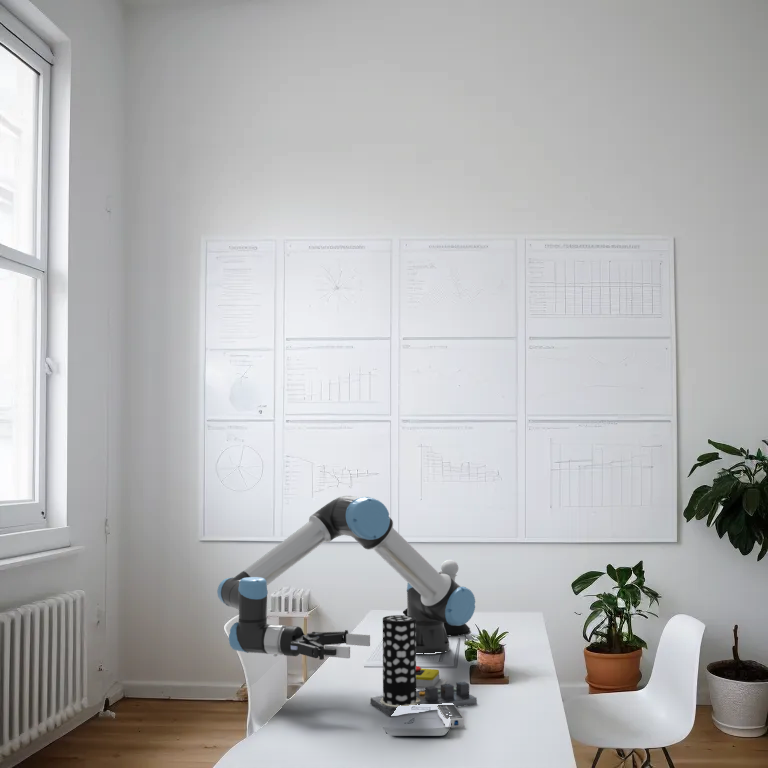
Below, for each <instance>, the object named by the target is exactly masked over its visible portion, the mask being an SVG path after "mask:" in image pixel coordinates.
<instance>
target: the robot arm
mask: <svg viewBox="0 0 768 768" xmlns="http://www.w3.org/2000/svg"><path fill="white" fill-rule="evenodd" d="M341 536H346V537H347V536H349V537H352V538H353V539H354V540H355V541H356V542H357V543H359V544H360V546H362V547H363V548H364V549H365V550H367V551H368V550H373V551H374V552H375V553H376V554H378V556H379V557H380V558H381V559H383V561H385V562H386V563H387V565H389V566H390V567H391V568H392V569H393V570H394V572H396V573H397V574H398V575H400V577H401V578H403V579H404V580H405V581H406V582H407V585H406V586H407V587H406V598H407V599H406V600H407V602H406V603H407V606H406V607H407V608H406V609H407V612H408V616H412V617H415V618H416V653H423V654H424V653H435V652H445V651H448V650H449V649H450V641H449V638H448V637H449V636H447V634H446V631H445V628H444V623H448V624H450V625H456V626H460V625H464V624H466V625H467V623H468V622H469V621H470V620H471V619H472V617H473V615H474V613H475V610H476V597H475V594H474V593H473V592H472V590H470V589H469V588H467V587H466V586H461V585H459V584H458V583H457V582H456V580H455V581H454V580H453V579H452V578H451V577H450V576H449V575H447V574H439V572H438V570H437V569H436V568H435V567H434V566H433V565H432V564H431V563H429V562H428V561H427V560H426V559H425V558H424V556H422V555H421V554H420V553H419V552H418V550H416V549H415V548H414V547H413V546H412V545H411V544H410V543H409V542H408V541H407V540H406V539H405V538H404V537H403V536H402V535H401V534H400V533H399V532H398V531H397V530H396V529H395V528H394V520H393V519H392V517H390V513H389V510H388V509H387V506H385V504H384V503H383V502H382V501H380V500H379V499H377V498H374V497H369V496H352V495H343V496H339V497H336V498H334V499H333V500H331V501H330V502H328V503H326V504H325V505H324V506H322V507H321V508H320V509H318V510H317V511H316V512H314V513H313V514H311V515H310V516H309V518H308V522H307V523H305V524H304V525H302V526H301V527H300V528H298V529H297V530H296V531H295V532H293V533H292V534H290V535H289V536H288V537H286V538H285V539H284V540H283V541H281V542H280V543H278V544H277V545H276V546H275V547H273V548H272V549H271V550H269V551H267V552H266V553H265V554H264V555H263V556H261V557H260V558H258V559H257V560H256V561H254V562H253V563H252V564H251V565H249V566H248V567H246V568H245V569H244V570H243V571H241V572H240V573H238V574H237V575H236V576H234V577H228V578H224V579H223V580H222V581H221V582H220V583H219V584H218V586H217V587H218V588H217V597H218V599H219V601H220V602H221V603H223V604H225V606H227V607H231V608H234V609H236V610H237V611H238V622H237V621H236V622H235V623H233V624H232V625H231V626H230V629H229V634H228V643H229V646H230V647H231V649H232V650H234V651H236V652H237V651H238V652H244V653H247V654H248V653H251V654H252V653H254V654H267V655H270V654H271V655H273V657H275V658H276V657H277V656H278V655H280V656H288V657H298V656H299V655H303V656H306V657H309V658H313V659H318V658H319V660H321V661H323V660H325V657H329V658H338V659H339V658H340V659H350V658H351V646H363V647H370V646H371V635H370V634H357V633H349V630H348V629H346V630H344V631H322V632H320V631H312V632H308V633H306V634H305V633H304V631H303V629H302V628H301V626H295V625H284V624H283V625H282V624H269V623H268V622H267V621H268V617H267V616H268V611H267V610H268V593H269V592H268V591H269V590H268V585H270V584H271V583H272V582H274V581H275V580H276V579H277V578H279V577H280V576H281V575H283V574H284V573H286V572H287V571H288V570H289V569H290V568H292V567H294V565H296V564H297V563H299V562H300V561H301V560H302V559H304V558H305V557H307V555H309V554H310V553H311V552H313V551H314V550H316V549H317V548H318V547H320V546H321V545H323V543H326V544H327V543H330V542H332V541H333V540H334V539H336V538H339V537H341ZM340 644H341V645H340ZM342 644H345V645H342ZM449 651H450V650H449ZM449 651H448V652H449ZM445 653H446V652H445Z"/></svg>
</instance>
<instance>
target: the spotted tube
mask: <svg viewBox="0 0 768 768" xmlns="http://www.w3.org/2000/svg"><path fill="white" fill-rule="evenodd" d="M416 666H417V654H416V618H415V617H412V616H405V615H401V614H399V615H398V614H396V615H387V616H384V617H383V618H382V696H383V701H384V702H385V703H388V704H392V705H407V704H412V703H414V702H416V691H417V687H416Z"/></svg>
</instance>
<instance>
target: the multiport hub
mask: <svg viewBox="0 0 768 768" xmlns="http://www.w3.org/2000/svg"><path fill="white" fill-rule="evenodd" d="M437 707H438V709H439V710H440V712H441V714H442V715H443V717H444V718H445V719H448V718H449V717H450V719H451V728H450V729H454V728H464V727H465V718H464V716H463V715H462V714H461V712H460V710H459V709H458V707H456V706H455V705H438V706H437ZM449 712H450V713H449ZM446 714H448V715H446ZM449 715H452V716H449Z"/></svg>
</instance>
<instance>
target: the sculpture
mask: <svg viewBox="0 0 768 768" xmlns="http://www.w3.org/2000/svg"><path fill="white" fill-rule="evenodd" d="M440 566H441V567H440V569H441V571H440V572H438V573H439V574H447V575H449V576H450V577H451V578H452V579H453V580H454V581H455V582H456V577H457V576H458V575H457V573H458V571H459V565H458V563H457V562H456V561H455V560H453V559H446V560H445V561H443V562H442V563H441V565H440ZM402 614H404V615H405V616H408V612H407V608H406V609H404V610H403V611H402ZM444 628H445V631H446V634H447V635H451V636H450V637H458V635H460V636H464V635H463V634H465V635H468V634H470V631H471V628H470V626H468V624H467V623H466V624H464V625H460V626H456V625H450V624H448V623H444Z"/></svg>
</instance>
